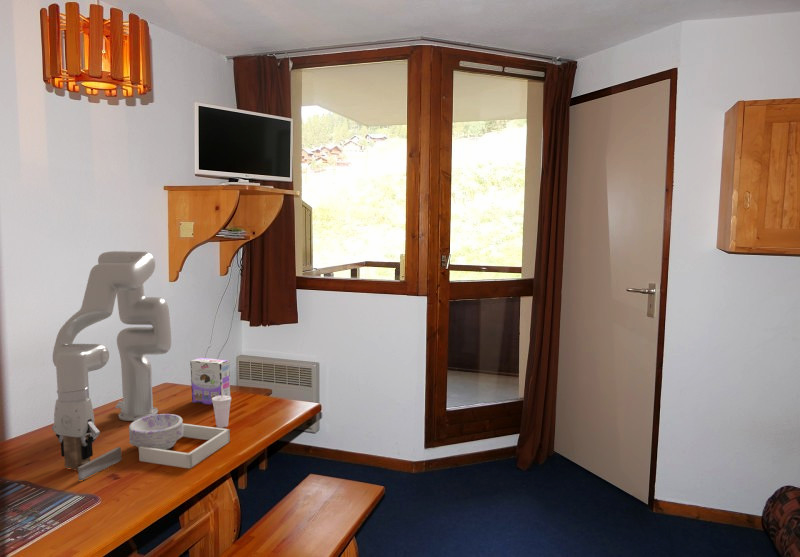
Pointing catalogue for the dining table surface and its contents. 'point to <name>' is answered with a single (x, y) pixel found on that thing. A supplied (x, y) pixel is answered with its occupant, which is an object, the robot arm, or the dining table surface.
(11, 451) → the dining table surface
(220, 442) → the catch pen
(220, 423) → the smoothie
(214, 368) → the candy box
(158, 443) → the paper bowls
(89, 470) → the scraper
